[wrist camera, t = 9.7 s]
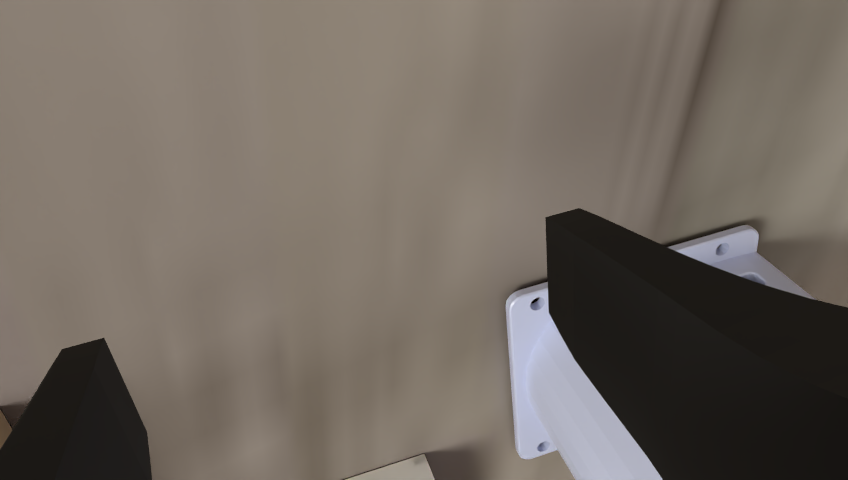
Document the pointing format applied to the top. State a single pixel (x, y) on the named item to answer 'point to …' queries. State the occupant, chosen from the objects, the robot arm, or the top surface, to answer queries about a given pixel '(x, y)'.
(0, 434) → the block
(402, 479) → the tray
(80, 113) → the top surface
